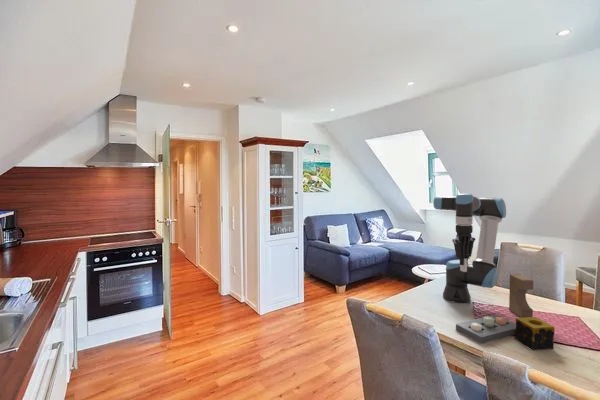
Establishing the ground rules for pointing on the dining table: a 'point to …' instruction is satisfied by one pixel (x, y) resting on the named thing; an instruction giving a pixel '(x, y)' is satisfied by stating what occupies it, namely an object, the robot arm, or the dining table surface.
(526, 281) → the decorative block
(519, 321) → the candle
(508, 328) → the panel
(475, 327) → the cream button
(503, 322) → the terracotta button
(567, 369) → the dining table surface
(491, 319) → the sage button
